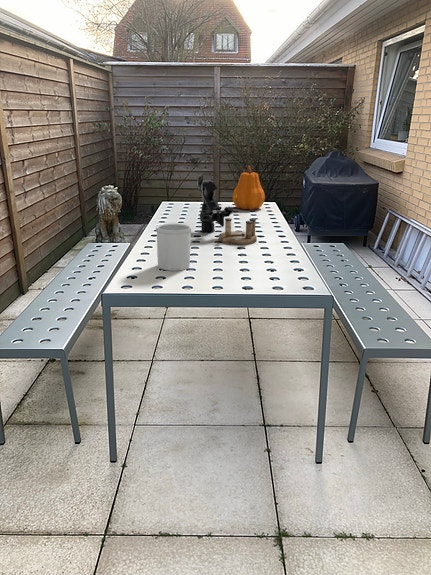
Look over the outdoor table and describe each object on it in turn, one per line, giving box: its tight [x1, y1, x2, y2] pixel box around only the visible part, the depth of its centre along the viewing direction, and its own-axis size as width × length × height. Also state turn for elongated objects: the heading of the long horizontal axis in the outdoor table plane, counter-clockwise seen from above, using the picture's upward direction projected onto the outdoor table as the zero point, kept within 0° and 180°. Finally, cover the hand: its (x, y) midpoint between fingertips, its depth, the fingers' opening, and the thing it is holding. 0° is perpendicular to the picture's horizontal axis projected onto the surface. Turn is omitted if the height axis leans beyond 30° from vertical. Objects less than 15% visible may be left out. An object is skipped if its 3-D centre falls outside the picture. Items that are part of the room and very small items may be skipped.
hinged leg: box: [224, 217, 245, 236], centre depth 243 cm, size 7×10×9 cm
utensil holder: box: [155, 222, 192, 272], centre depth 198 cm, size 15×15×18 cm
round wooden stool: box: [218, 218, 258, 246], centre depth 245 cm, size 20×20×11 cm
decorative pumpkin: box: [232, 164, 266, 211], centre depth 332 cm, size 24×24×30 cm
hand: (223, 226), depth 244 cm, fingers closed
